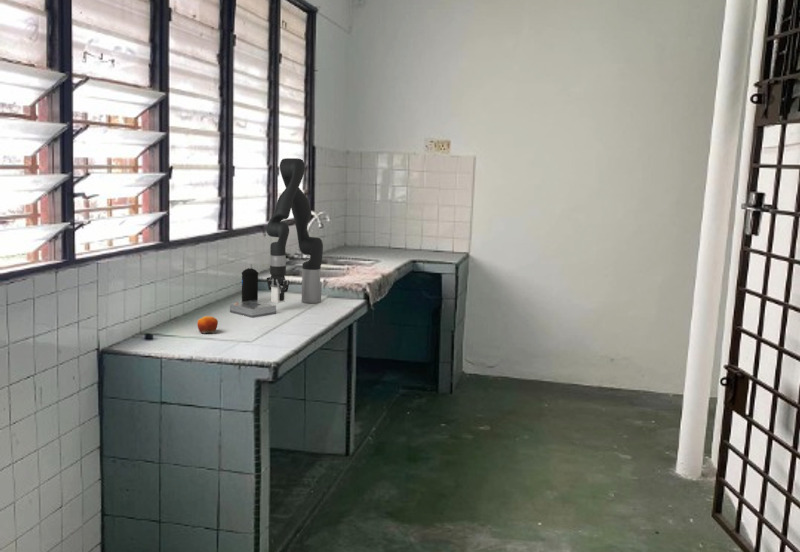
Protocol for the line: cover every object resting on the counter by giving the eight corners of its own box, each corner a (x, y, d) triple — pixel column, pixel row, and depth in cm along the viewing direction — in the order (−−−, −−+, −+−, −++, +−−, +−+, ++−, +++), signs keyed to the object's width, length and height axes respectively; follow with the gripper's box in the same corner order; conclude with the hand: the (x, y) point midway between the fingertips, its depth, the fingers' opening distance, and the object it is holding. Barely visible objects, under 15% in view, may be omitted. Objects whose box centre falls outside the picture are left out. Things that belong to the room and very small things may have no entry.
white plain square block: (278, 300, 346) (278, 285, 345) (284, 301, 343) (284, 287, 342) (271, 301, 342) (271, 286, 341) (277, 303, 340) (277, 288, 338)
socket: (253, 308, 346) (253, 299, 345) (275, 313, 336) (276, 304, 335) (229, 312, 335) (229, 302, 334) (252, 317, 325) (252, 307, 325)
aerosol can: (261, 304, 357) (262, 264, 354) (249, 306, 350) (250, 265, 347) (249, 302, 361) (249, 262, 358) (237, 304, 354) (237, 264, 351)
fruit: (200, 333, 287) (198, 314, 289) (197, 339, 293) (195, 320, 296) (221, 331, 290) (218, 313, 293) (217, 337, 297) (214, 319, 299)
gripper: (294, 265, 338) (294, 301, 341) (273, 261, 347) (273, 296, 350) (282, 267, 332) (282, 303, 335) (261, 263, 341) (261, 298, 344)
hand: (277, 299), depth 343 cm, fingers closed on white plain square block, 4 cm apart
